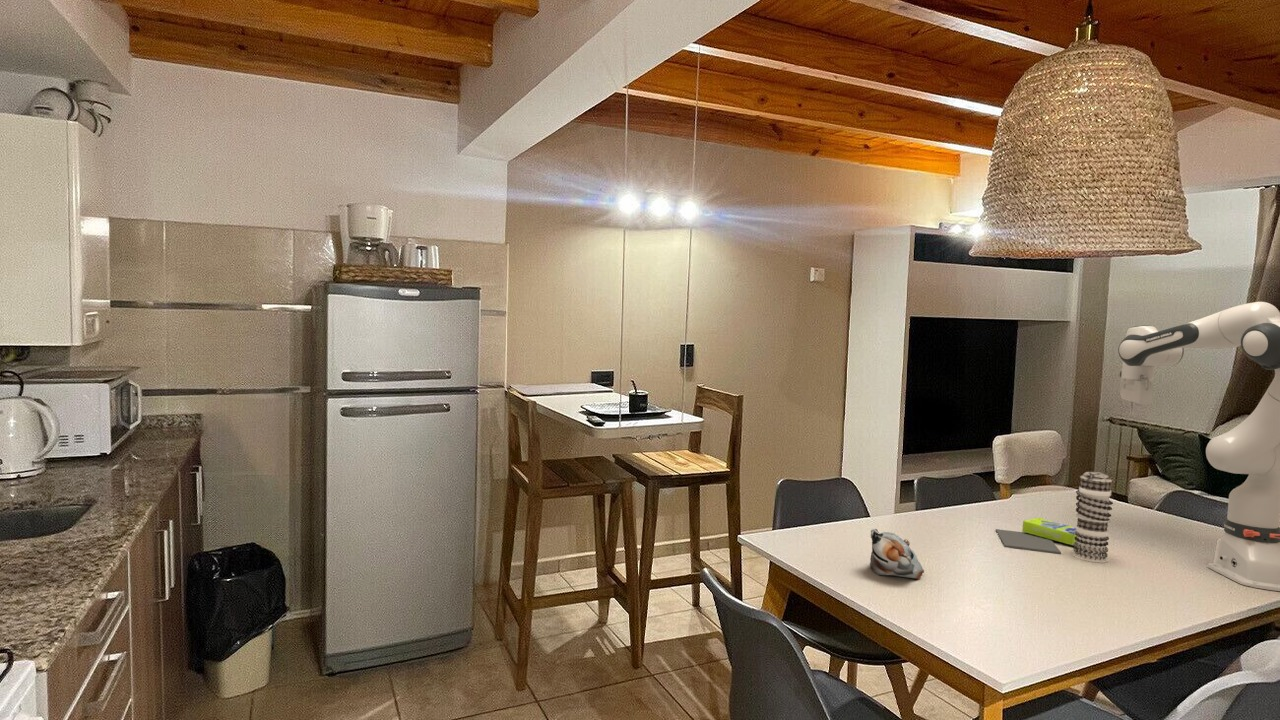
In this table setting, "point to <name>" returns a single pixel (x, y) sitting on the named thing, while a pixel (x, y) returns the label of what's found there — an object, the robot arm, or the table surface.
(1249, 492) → the robot arm
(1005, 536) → the mat
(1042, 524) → the box
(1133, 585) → the table surface
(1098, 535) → the decorative candle
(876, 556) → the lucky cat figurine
